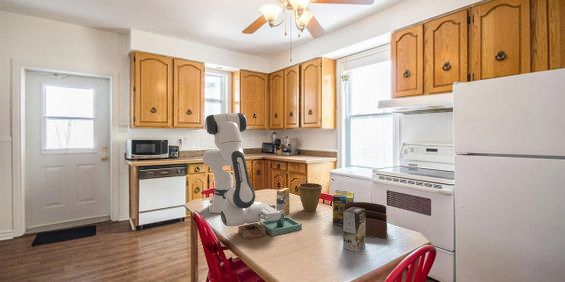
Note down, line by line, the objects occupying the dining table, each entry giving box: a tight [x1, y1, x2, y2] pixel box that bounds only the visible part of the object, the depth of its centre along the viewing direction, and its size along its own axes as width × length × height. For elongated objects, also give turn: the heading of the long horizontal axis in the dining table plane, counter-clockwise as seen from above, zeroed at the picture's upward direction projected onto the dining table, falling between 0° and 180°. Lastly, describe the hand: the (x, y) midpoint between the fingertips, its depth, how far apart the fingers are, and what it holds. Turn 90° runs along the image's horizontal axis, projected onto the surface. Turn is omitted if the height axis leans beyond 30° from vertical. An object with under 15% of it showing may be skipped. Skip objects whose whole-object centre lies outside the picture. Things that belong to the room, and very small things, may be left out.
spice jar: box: [275, 197, 285, 227], centre depth 134 cm, size 4×4×14 cm
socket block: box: [237, 222, 266, 240], centre depth 126 cm, size 10×10×3 cm
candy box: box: [276, 187, 291, 217], centre depth 155 cm, size 9×4×15 cm, turn 150°
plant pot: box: [297, 182, 323, 213], centre depth 164 cm, size 15×15×16 cm
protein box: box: [332, 190, 355, 227], centre depth 143 cm, size 10×15×16 cm
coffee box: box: [342, 207, 366, 252], centre depth 112 cm, size 9×6×16 cm
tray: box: [259, 216, 303, 237], centre depth 134 cm, size 14×17×2 cm
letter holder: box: [345, 201, 388, 240], centre depth 128 cm, size 10×20×14 cm, turn 71°
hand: (279, 208), depth 134 cm, fingers open, 8 cm apart
